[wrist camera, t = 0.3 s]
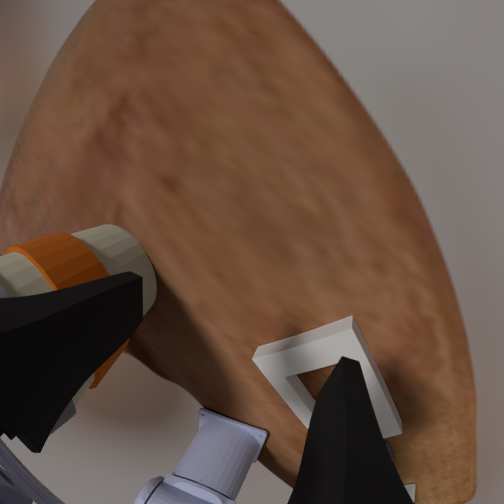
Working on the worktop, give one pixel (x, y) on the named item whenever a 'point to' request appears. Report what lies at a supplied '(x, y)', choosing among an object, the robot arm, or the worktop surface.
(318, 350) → the white board with cutouts
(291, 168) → the worktop surface
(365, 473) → the robot arm
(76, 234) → the reusable coffee cup
